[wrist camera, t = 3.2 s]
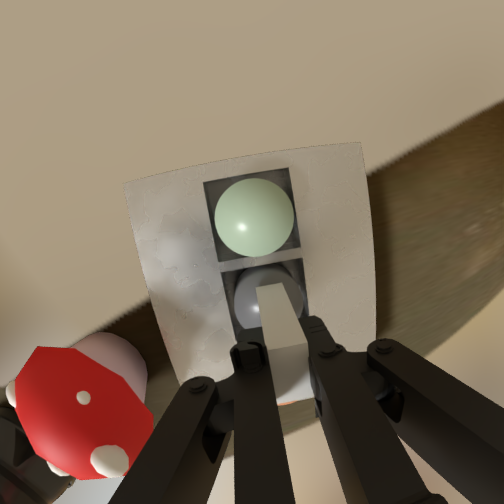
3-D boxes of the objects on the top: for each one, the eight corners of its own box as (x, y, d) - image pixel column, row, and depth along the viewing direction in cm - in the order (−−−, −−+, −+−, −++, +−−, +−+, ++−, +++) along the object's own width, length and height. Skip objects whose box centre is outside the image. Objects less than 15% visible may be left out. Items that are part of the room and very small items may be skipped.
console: (197, 388, 23) (192, 415, 19) (141, 183, 19) (123, 183, 15) (358, 357, 23) (373, 380, 19) (340, 148, 19) (360, 142, 15)
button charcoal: (240, 325, 19) (241, 341, 17) (229, 268, 18) (228, 279, 16) (299, 314, 19) (306, 329, 17) (291, 257, 18) (298, 266, 16)
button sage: (224, 253, 17) (223, 263, 15) (211, 186, 16) (208, 186, 14) (291, 241, 17) (298, 249, 15) (280, 174, 16) (287, 172, 14)
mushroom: (67, 387, 22) (14, 468, 11) (57, 290, 20) (-37, 360, 8) (166, 418, 23) (142, 522, 12) (175, 322, 21) (129, 441, 9)
